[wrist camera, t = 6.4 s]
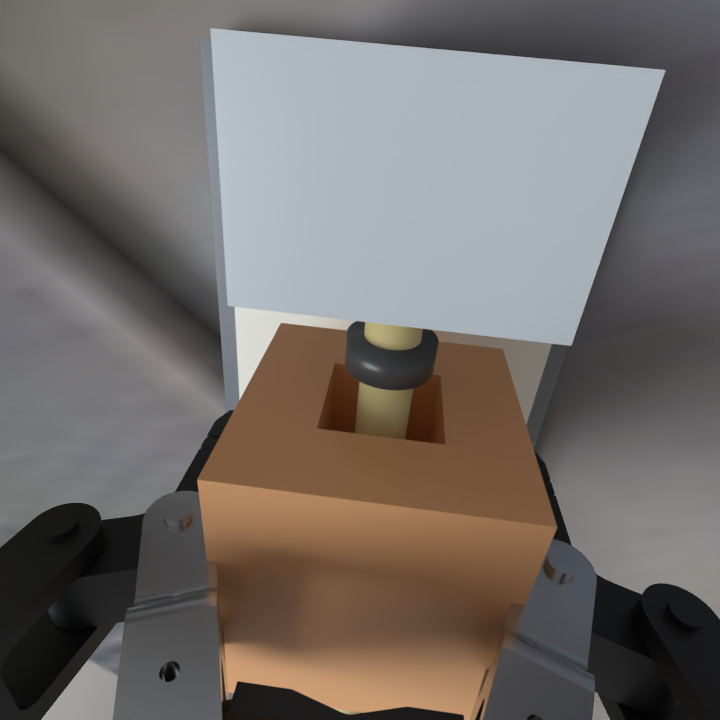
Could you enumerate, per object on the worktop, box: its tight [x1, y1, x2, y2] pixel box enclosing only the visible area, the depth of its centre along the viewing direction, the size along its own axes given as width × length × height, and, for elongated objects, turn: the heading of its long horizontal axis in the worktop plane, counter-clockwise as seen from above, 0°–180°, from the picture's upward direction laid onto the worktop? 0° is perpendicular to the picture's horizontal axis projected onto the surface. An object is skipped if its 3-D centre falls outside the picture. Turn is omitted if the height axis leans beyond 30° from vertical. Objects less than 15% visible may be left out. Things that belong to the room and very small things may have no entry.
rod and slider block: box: [200, 28, 666, 714], centre depth 15 cm, size 26×10×8 cm, turn 175°
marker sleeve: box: [197, 323, 557, 720], centre depth 11 cm, size 6×5×5 cm
